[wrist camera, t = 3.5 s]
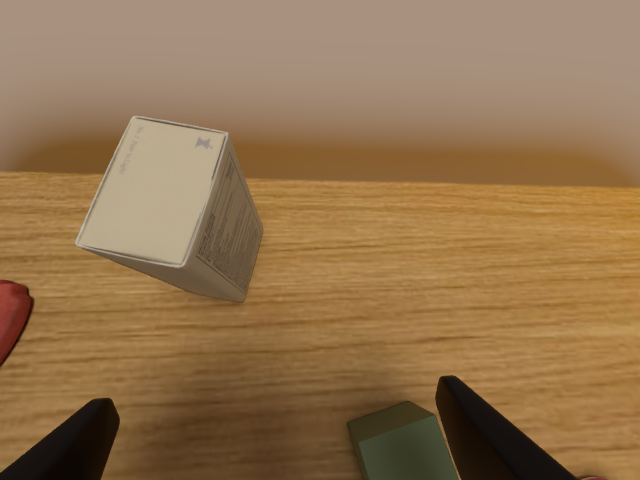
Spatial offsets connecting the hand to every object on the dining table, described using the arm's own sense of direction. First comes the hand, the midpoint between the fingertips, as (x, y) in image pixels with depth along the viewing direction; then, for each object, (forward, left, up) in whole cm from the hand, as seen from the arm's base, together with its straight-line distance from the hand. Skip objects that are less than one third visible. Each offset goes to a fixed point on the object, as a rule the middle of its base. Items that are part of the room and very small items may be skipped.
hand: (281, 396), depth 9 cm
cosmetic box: (+4, +8, -14) cm, 17 cm away
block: (-1, -8, -14) cm, 16 cm away
